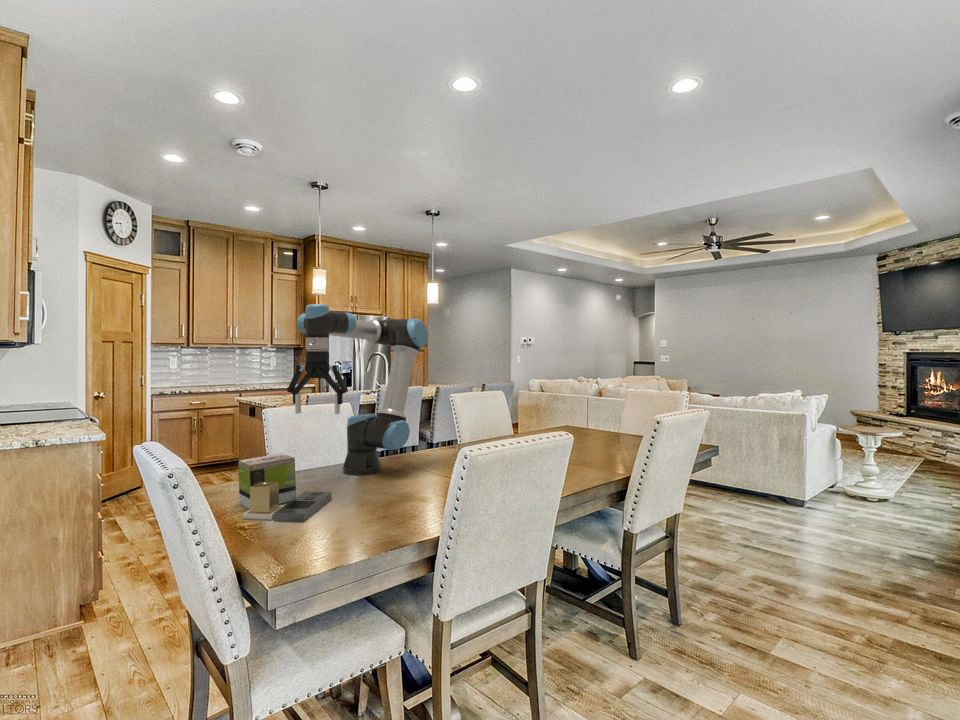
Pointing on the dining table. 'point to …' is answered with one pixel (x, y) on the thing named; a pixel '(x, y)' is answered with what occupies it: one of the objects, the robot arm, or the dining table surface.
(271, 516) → the tray
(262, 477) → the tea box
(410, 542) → the dining table surface
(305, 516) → the rail
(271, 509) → the brass rectangular block
